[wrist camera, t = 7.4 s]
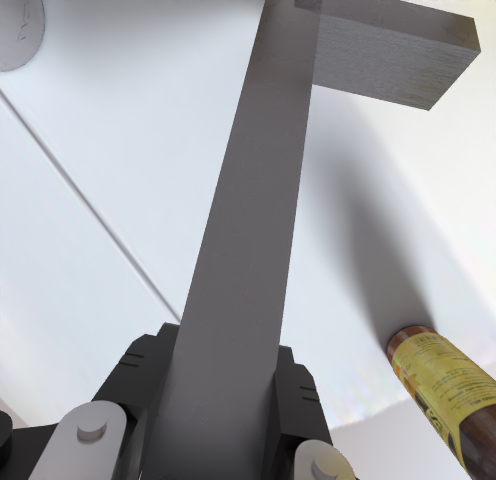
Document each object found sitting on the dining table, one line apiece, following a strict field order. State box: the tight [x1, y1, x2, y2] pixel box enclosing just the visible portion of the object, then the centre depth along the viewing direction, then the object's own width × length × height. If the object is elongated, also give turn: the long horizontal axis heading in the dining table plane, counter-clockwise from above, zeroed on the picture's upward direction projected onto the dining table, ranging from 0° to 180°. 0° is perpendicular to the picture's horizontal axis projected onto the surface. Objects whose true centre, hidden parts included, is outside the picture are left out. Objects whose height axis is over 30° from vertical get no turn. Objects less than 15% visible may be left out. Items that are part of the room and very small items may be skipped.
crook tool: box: [140, 0, 481, 480], centre depth 12 cm, size 12×29×4 cm
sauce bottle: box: [387, 326, 496, 480], centre depth 21 cm, size 7×6×20 cm
